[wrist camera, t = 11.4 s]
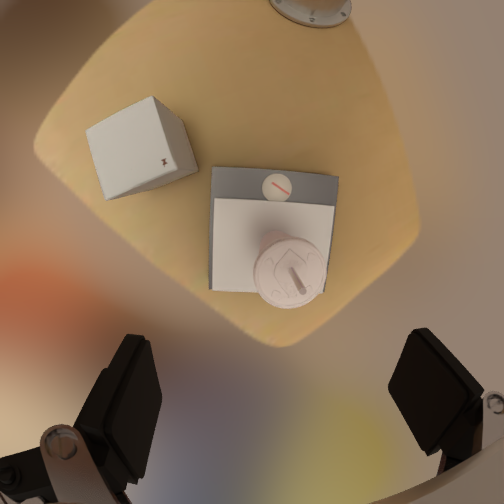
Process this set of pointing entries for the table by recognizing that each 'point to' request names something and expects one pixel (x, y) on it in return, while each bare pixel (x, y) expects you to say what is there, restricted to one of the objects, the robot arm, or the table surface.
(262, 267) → the smoothie
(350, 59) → the table surface
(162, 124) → the supplement box
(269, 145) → the table surface
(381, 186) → the table surface
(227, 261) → the scale
